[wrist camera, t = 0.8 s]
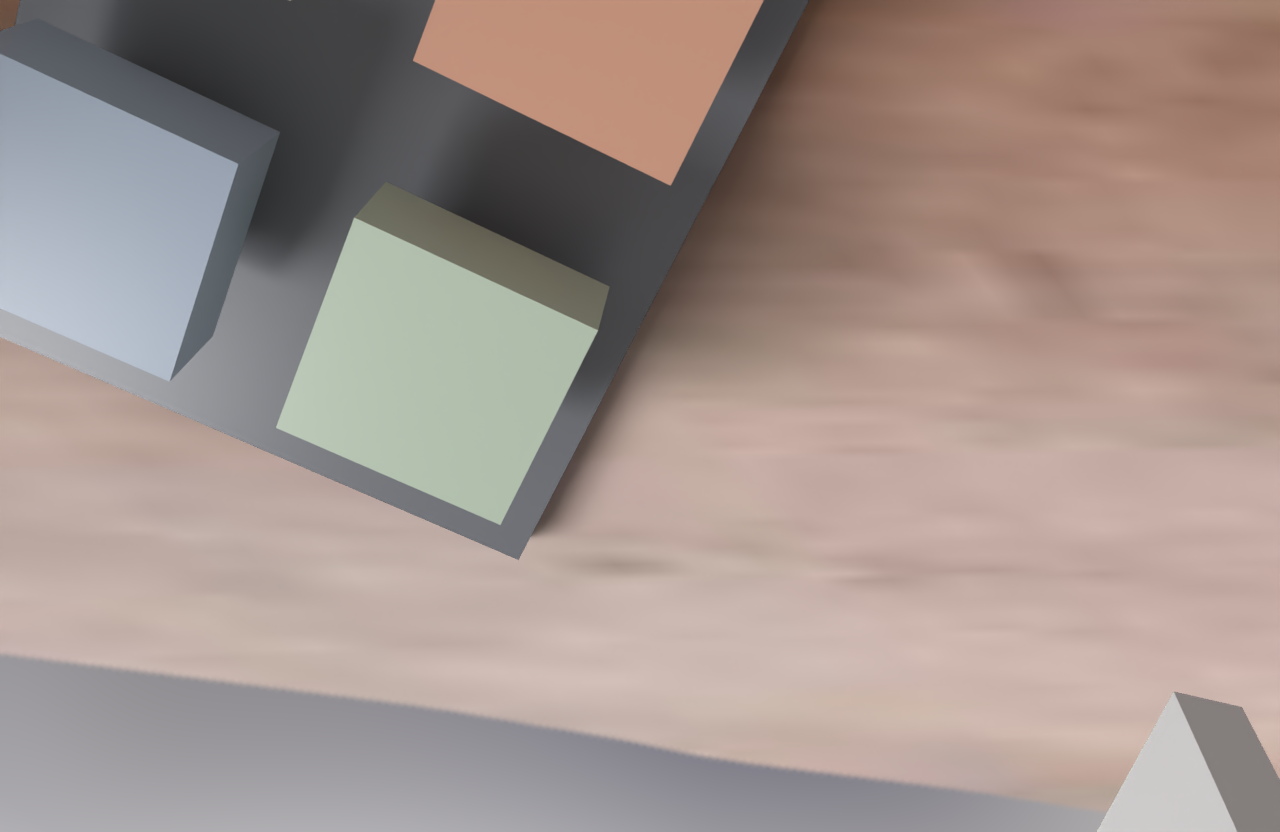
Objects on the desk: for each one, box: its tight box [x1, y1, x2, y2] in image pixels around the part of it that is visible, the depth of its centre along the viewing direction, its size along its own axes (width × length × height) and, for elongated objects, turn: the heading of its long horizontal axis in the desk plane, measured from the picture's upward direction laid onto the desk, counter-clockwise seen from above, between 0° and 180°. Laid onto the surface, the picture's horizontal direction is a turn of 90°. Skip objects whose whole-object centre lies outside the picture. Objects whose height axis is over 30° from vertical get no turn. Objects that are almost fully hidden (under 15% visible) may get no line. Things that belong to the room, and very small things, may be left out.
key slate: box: [0, 18, 280, 382], centre depth 27 cm, size 6×6×2 cm
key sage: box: [276, 182, 609, 525], centre depth 28 cm, size 6×6×2 cm
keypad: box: [0, 0, 809, 560], centre depth 27 cm, size 16×22×3 cm
